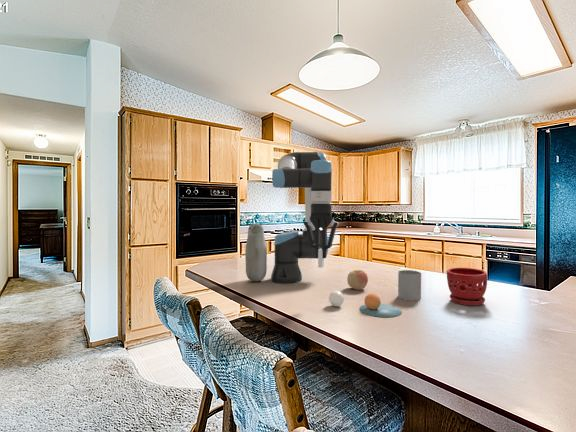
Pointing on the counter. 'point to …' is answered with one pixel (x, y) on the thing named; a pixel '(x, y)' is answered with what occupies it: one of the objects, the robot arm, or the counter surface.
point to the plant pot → (467, 285)
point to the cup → (409, 285)
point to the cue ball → (336, 298)
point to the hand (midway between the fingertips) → (321, 266)
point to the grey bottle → (256, 253)
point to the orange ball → (372, 301)
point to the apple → (357, 279)
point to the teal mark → (382, 311)
